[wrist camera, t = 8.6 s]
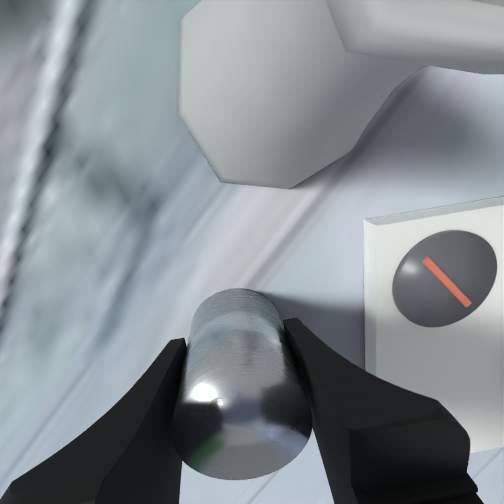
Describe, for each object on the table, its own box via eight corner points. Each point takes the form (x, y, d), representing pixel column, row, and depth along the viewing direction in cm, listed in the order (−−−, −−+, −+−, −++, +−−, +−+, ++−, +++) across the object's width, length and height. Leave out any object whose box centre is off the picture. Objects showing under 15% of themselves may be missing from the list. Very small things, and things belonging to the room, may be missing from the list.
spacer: (284, 356, 15) (317, 465, 10) (201, 372, 15) (188, 491, 9) (275, 281, 13) (307, 362, 8) (182, 297, 13) (154, 390, 8)
